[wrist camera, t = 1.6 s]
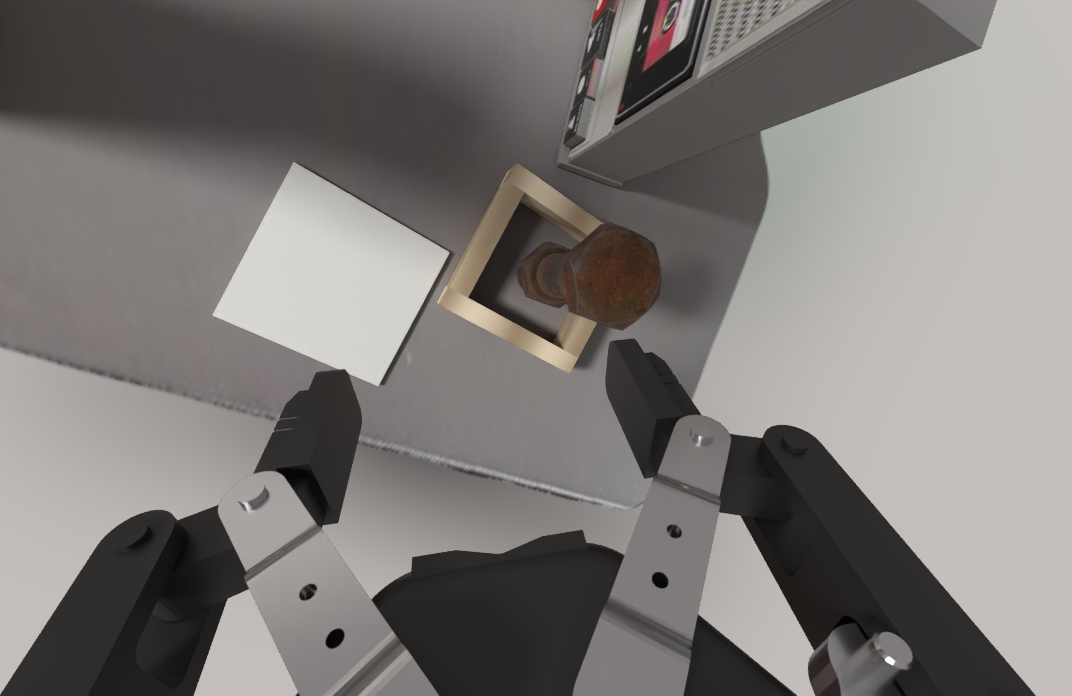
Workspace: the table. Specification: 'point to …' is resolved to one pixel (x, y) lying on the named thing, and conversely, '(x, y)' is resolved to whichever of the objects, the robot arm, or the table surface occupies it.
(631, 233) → the bolt
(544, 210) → the wooden frame
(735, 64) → the cassette tape recorder
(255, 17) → the table surface
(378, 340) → the pad
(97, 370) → the table surface
